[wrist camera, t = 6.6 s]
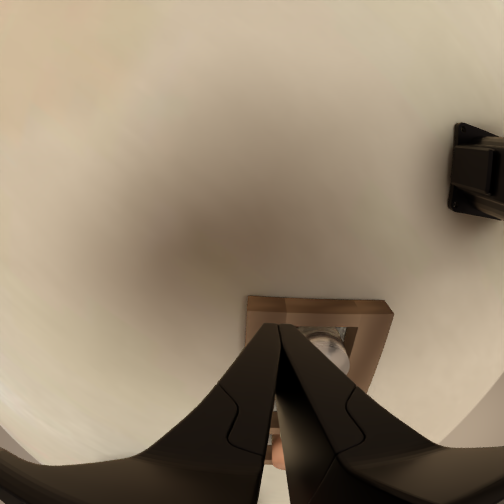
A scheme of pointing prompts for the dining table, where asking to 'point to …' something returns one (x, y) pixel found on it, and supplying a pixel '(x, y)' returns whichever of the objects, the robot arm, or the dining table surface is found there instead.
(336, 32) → the dining table surface
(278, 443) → the terracotta button
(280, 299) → the button panel
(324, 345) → the grey button
